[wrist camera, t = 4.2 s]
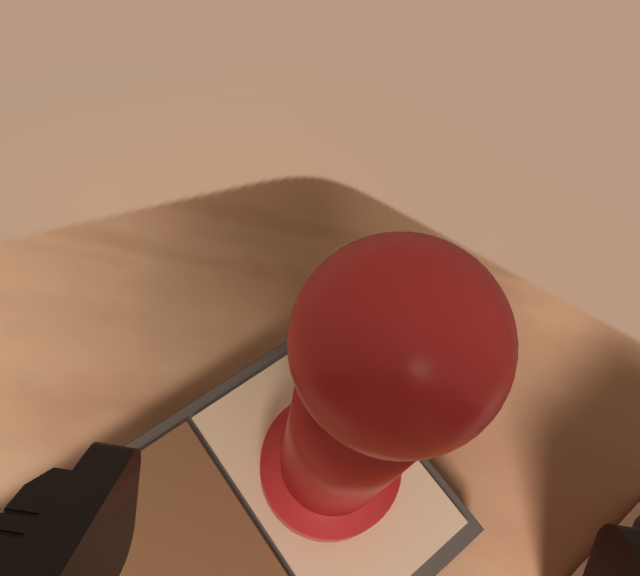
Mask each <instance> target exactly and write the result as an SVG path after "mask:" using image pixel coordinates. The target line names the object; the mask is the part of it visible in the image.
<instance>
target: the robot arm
mask: <svg viewBox="0 0 640 576" xmlns="http://www.w3.org/2000/svg"><path fill="white" fill-rule="evenodd" d="M140 466H141V451H140V449H137V448H131V447H125V446H118V445H112V444H106V443H99V442H95V443H93V444H92V445H91V446H90V447H89V449H88V450H87V451H86V453H85V454H84V455H83V457H82V458H81V459H80V461H79V462H78V463H77V465H76V466H75V467H74V469H73V470H66V469H60V468H52V469H51V470H49V471H47V472H46V473H44V474H42V475H40V476H39V477H37V478H35V479H34V480H32V481H30V482H29V483H27V484H25V485H24V486H23V487H22V488H21V490H20V491H19V492H18V493H17V494H16V495H15V497H14V498H13V499H12V500H11V501H10V502H9V504H8V505H7V506H6V507H5V510H4V512H3V513H0V576H120V573H121V571H122V569H123V567H124V565H125V562H126V559H127V556H128V553H129V550H130V546H131V543H132V538H133V533H134V527H135V518H136V508H137V497H138V487H139V477H140ZM582 576H640V528H634V527H628V526H622V525H615V524H605V525H603V526H602V527H601V528H600V530H599V531H598V534H597V536H596V539H595V542H594V545H593V547H592V550H591V553H590V556H589V559H588V561H587V564H586V567H585V570H584V573H583V575H582Z"/></svg>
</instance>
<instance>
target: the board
mask: <svg viewBox="0 0 640 576" xmlns="http://www.w3.org/2000/svg"><path fill="white" fill-rule="evenodd" d="M294 386H295V385H294V382H293V379H292V376H291V373H290V368H289V362H288V350H287V341H286V342H285V343H283V344H282V345H280V346H279V347H277V348H276V349H274V350H272V351H271V352H269V353H268V354H266V355H265V356H263V357H262V358H260V359H259V360H257V361H255V362H254V363H252V364H251V365H249V366H248V367H246V368H245V369H243V370H242V371H240V372H238V373H237V374H235V375H234V376H232V377H231V378H229V379H228V380H226V381H225V382H223V383H221V384H220V385H218V386H217V387H215V388H214V389H212V390H211V391H209V392H208V393H206V394H204V395H203V396H201V397H200V398H198V399H197V400H195V401H194V402H192V403H191V404H189V405H187V406H186V407H184V408H183V409H181V410H180V411H178V412H177V413H175V414H173V415H172V416H170V417H169V418H167V419H166V420H164V421H163V422H161V423H160V424H158V425H156V426H155V427H153V428H152V429H150V430H149V431H147V432H146V433H144V434H143V435H141V436H139V437H138V438H136V439H135V440H133V441H132V442H130V443H129V444H127V445H126V446H125V447H131V448H137V449H140V451H141V466H140V477H139V487H138V497H137V508H136V518H135V527H134V533H133V538H132V543H131V546H130V550H129V553H128V556H127V559H126V562H125V565H124V567H123V569H122V571H121V573H120V576H436V575H437V574H438V573H439V572H440V571H441V570H442V569H443V568H444V567H445V566H446V565H447V564H448V563H449V562H450V561H451V560H453V559H454V558H455V557H456V556H457V555H458V554H459V553H460V552H461V551H462V550H463V549H464V548H465V547H466V546H467V545H468V544H469V543H471V542H472V541H473V540H474V539H475V538H476V537H477V536H478V535H479V534H480V533H481V532H482V531H483V530H484V529H483V527H482V526H481V525H480V524H479V522H478V521H477V520H476V519H475V518H474V516H473V515H472V514H471V513H470V511H469V510H468V509H467V508H466V506H465V505H464V504H463V503H462V501H461V500H460V499H459V498H458V496H457V495H456V494H455V493H454V492H453V490H452V489H451V488H450V487H449V485H448V484H447V483H446V482H445V480H444V479H443V478H442V477H441V475H440V474H439V473H438V472H437V470H436V469H435V468H434V467H433V466H432V464H431V463H430V462H429V461H428V459H426V460H421V461H416V462H415V463H414V464H413V465H411V466H410V467H409V468H408V469H407V470H406V471H404V472H403V473H402V476H401V483H400V487H399V491H398V493H397V496H396V498H395V501H394V502H393V504H392V506H391V508H390V509H389V510H388V512H387V513H386V514H385V516H384V517H383V518H382V519H381V520H380V521H379V522H377V523H376V524H375V525H373V526H372V527H371V528H369V529H368V530H366V531H364V532H363V533H361V534H359V535H357V536H355V537H353V538H350V539H348V540H344V541H339V542H328V543H327V542H317V541H313V540H309V539H306V538H304V537H301V536H299V535H297V534H296V533H294V532H292V531H291V530H289V529H288V528H287V527H285V526H284V525H283V524H282V523H281V522H280V521H279V520H278V519H277V517H276V516H275V515H274V514H273V512H272V511H271V509H270V507H269V506H268V504H267V502H266V499H265V497H264V494H263V491H262V487H261V481H260V458H261V450H262V446H263V442H264V439H265V436H266V434H267V431H268V429H269V428H270V426H271V424H272V423H273V421H274V420H275V419H276V417H277V416H278V415H279V414H280V413H281V412H282V411H283V410H284V409H285V408H286V407H288V406H289V405H290V404H291V400H292V396H293V391H294Z"/></svg>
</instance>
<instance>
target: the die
mask: <svg viewBox="0 0 640 576" xmlns="http://www.w3.org/2000/svg"><path fill="white" fill-rule="evenodd" d="M618 525H622V526H628V527H634V528H640V502H639V503H638V504H637V505H636V506H635V507H634V508H633V509H632V510H631V511H630V512H629V514H628V515H627V516H626V517H625V518H624V519H623V520H622V521H621V522H620V523H619V524H618ZM588 559H589V557H588V558H587V559H586V560H585V561H584V562H583V563H582V564H581V565H580V566H579V568H578V569H577V570H576V571H575V572H574V573H573V574H572V575H571V576H582V575H583V573H584V570H585V567H586V564H587V561H588Z"/></svg>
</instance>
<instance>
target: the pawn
mask: <svg viewBox="0 0 640 576" xmlns="http://www.w3.org/2000/svg"><path fill="white" fill-rule="evenodd" d="M287 350H288V362H289V368H290V373H291V376H292V379H293V382H294V385H295V386H294V391H293V396H292V400H291V404H290V405H289V406H288V407H286V408H285V409H284V410H283V411H282V412H281V413H280V414H279V415H278V416H277V417H276V419H275V420H274V421H273V423H272V424H271V426H270V428H269V429H268V431H267V434H266V436H265V439H264V442H263V446H262V450H261V458H260V481H261V487H262V491H263V494H264V497H265V499H266V502H267V504H268V506H269V507H270V509H271V511H272V512H273V514H274V515H275V516H276V517H277V519H278V520H279V521H280V522H281V523H282V524H283V525H284V526H285V527H287V528H288V529H289V530H291V531H292V532H294V533H296V534H297V535H299V536H301V537H304V538H306V539H309V540H313V541H317V542H327V543H328V542H339V541H344V540H348V539H350V538H353V537H355V536H357V535H359V534H361V533H363V532H364V531H366V530H368V529H369V528H371V527H372V526H373V525H375V524H376V523H377V522H379V521H380V520H381V519H382V518H383V517H384V516H385V514H386V513H387V512H388V510H389V509H390V508H391V506H392V504H393V502H394V501H395V498H396V496H397V493H398V491H399V487H400V483H401V476H402V473H403V472H404V471H406V470H407V469H408V468H409V467H410V466H411V465H413V464H414V463H415V462H416V461H421V460H426V459H431V458H435V457H438V456H441V455H444V454H447V453H449V452H451V451H453V450H455V449H457V448H459V447H461V446H463V445H465V444H467V443H468V442H469V441H471V440H472V439H473V438H475V437H476V436H478V435H479V434H480V433H481V432H482V431H483V430H484V429H485V428H486V427H487V426H488V425H489V424H490V423H491V422H492V420H493V419H494V418H495V416H496V415H497V414H498V412H499V411H500V410H501V408H502V406H503V404H504V402H505V400H506V398H507V396H508V394H509V392H510V390H511V387H512V384H513V381H514V378H515V372H516V366H517V360H518V337H517V329H516V324H515V320H514V316H513V312H512V309H511V307H510V304H509V302H508V300H507V298H506V296H505V294H504V292H503V290H502V289H501V287H500V285H499V284H498V283H497V281H496V280H495V278H494V277H493V275H492V274H491V273H490V272H489V271H488V270H487V269H486V267H485V266H483V265H482V264H481V263H480V262H479V261H478V260H477V259H476V258H474V257H473V256H472V255H470V254H469V253H468V252H466V251H465V250H463V249H461V248H460V247H458V246H456V245H454V244H452V243H450V242H448V241H446V240H443V239H440V238H437V237H434V236H431V235H426V234H422V233H414V232H389V233H380V234H376V235H371V236H368V237H365V238H362V239H360V240H357V241H355V242H352V243H350V244H349V245H347V246H345V247H343V248H341V249H339V250H338V251H337V252H335V253H334V254H332V255H331V256H330V257H329V258H327V259H326V260H325V261H324V262H323V263H322V264H321V265H320V266H319V267H318V268H317V269H316V270H315V271H314V272H313V274H312V275H311V276H310V277H309V279H308V280H307V282H306V283H305V285H304V287H303V288H302V290H301V292H300V293H299V295H298V298H297V300H296V302H295V305H294V307H293V311H292V314H291V318H290V322H289V327H288V336H287Z"/></svg>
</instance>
